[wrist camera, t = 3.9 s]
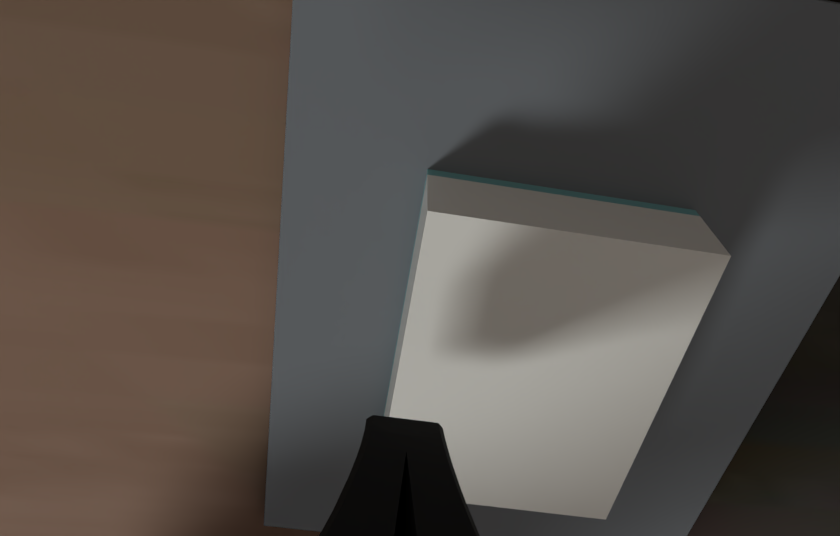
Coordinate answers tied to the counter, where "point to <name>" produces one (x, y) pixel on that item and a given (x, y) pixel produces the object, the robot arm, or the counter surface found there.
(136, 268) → the counter surface
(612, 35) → the mat
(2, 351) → the counter surface
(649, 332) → the tile
